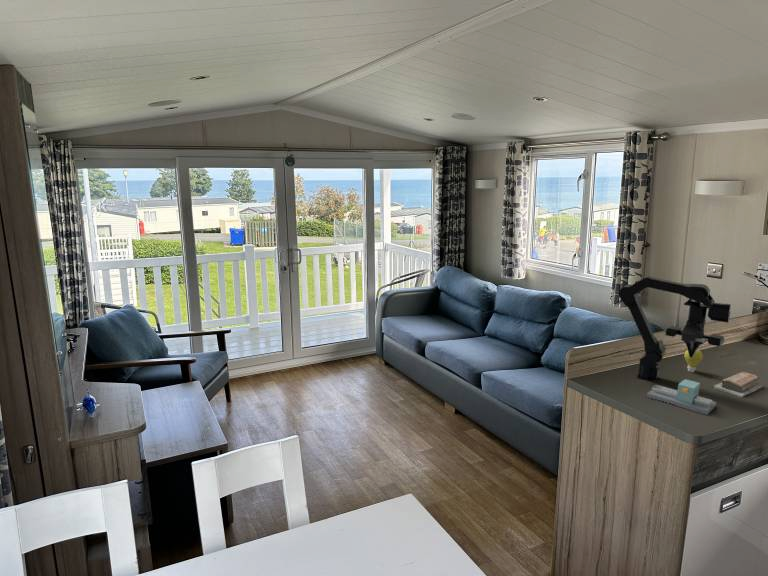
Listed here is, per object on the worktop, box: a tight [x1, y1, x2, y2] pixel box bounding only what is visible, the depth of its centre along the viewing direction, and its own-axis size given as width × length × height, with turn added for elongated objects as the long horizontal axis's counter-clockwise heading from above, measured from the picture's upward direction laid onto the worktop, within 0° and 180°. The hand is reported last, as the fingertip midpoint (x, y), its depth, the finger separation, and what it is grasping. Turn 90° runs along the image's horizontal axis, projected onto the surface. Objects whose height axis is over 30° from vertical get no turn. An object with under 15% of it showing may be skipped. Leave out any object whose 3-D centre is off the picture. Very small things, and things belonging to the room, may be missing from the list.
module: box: [676, 378, 701, 404], centre depth 192 cm, size 5×8×6 cm, turn 135°
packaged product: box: [713, 371, 764, 398], centre depth 207 cm, size 18×5×10 cm
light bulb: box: [684, 348, 704, 373], centre depth 223 cm, size 7×7×10 cm
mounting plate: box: [646, 389, 717, 415], centre depth 194 cm, size 20×10×2 cm, turn 44°
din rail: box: [651, 384, 714, 407], centre depth 194 cm, size 19×4×2 cm, turn 44°
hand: (691, 357), depth 206 cm, fingers closed
